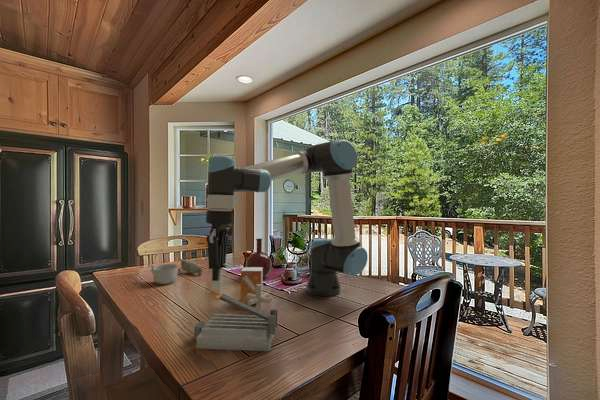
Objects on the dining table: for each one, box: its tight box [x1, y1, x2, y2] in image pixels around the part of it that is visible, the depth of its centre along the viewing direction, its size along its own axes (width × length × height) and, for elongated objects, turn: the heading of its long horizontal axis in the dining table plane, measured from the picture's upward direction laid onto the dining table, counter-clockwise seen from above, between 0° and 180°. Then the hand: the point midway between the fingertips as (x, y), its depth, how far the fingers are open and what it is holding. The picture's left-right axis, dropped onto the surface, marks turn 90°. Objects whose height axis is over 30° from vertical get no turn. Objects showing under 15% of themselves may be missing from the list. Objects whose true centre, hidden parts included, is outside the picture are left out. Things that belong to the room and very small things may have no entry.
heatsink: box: [193, 308, 279, 352], centre depth 84 cm, size 23×12×8 cm, turn 87°
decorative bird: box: [177, 258, 203, 277], centre depth 157 cm, size 5×16×7 cm, turn 61°
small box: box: [239, 266, 264, 305], centre depth 115 cm, size 8×6×13 cm
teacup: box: [150, 263, 179, 286], centre depth 140 cm, size 14×11×8 cm
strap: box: [208, 290, 270, 321], centre depth 84 cm, size 20×5×1 cm, turn 87°
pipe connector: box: [247, 284, 272, 311], centre depth 104 cm, size 10×10×10 cm
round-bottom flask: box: [245, 238, 273, 278], centre depth 151 cm, size 13×13×20 cm
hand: (216, 290), depth 85 cm, fingers closed
